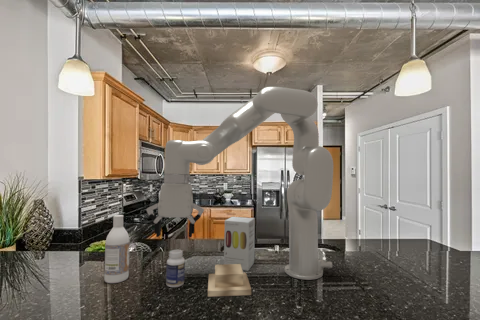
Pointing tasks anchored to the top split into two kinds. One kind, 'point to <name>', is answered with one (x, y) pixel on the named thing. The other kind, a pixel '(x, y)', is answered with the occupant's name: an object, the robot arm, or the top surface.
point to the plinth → (228, 289)
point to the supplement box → (239, 241)
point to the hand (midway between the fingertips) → (174, 236)
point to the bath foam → (117, 252)
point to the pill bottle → (175, 269)
